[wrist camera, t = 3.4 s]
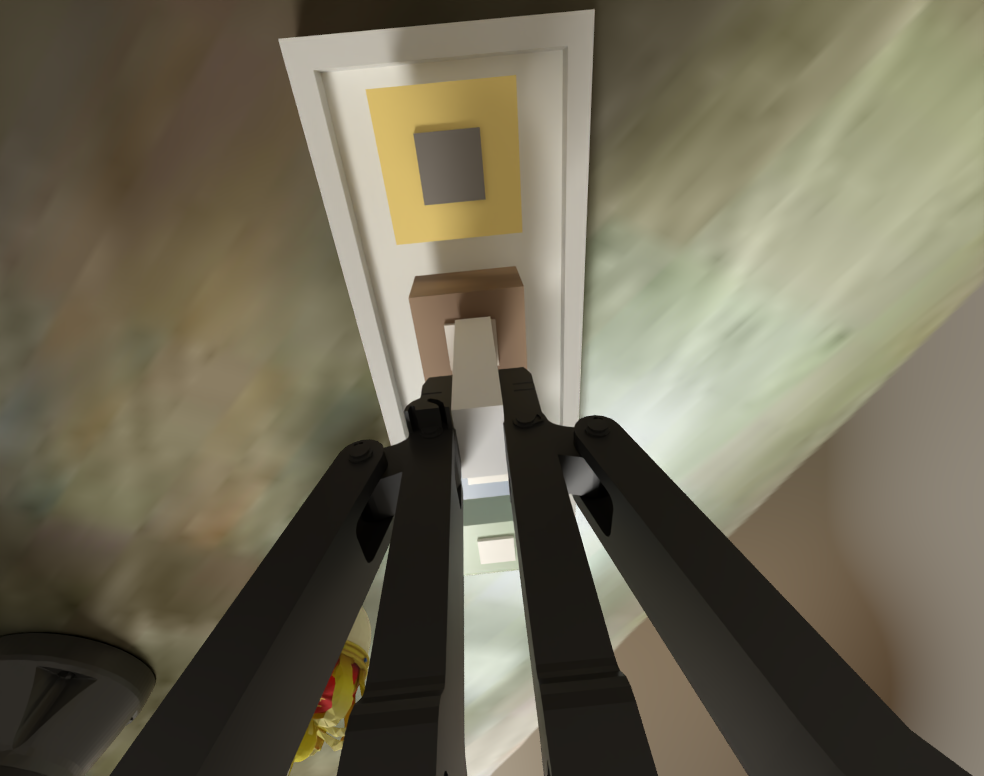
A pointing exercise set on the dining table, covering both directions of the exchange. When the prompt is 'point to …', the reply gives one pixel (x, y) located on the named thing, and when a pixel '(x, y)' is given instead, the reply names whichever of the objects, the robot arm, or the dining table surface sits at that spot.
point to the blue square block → (485, 486)
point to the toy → (339, 692)
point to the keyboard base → (535, 252)
